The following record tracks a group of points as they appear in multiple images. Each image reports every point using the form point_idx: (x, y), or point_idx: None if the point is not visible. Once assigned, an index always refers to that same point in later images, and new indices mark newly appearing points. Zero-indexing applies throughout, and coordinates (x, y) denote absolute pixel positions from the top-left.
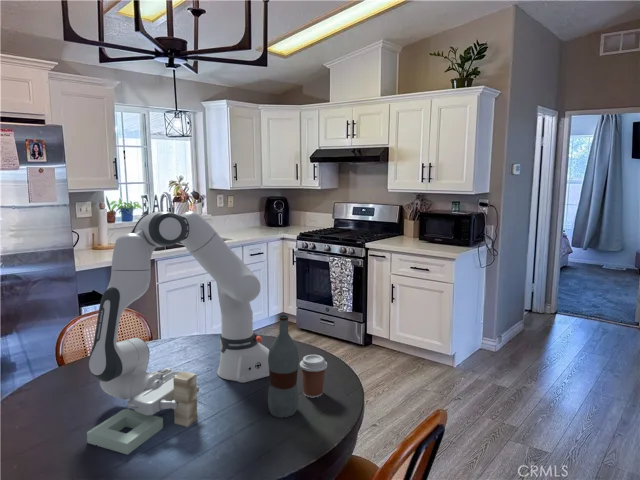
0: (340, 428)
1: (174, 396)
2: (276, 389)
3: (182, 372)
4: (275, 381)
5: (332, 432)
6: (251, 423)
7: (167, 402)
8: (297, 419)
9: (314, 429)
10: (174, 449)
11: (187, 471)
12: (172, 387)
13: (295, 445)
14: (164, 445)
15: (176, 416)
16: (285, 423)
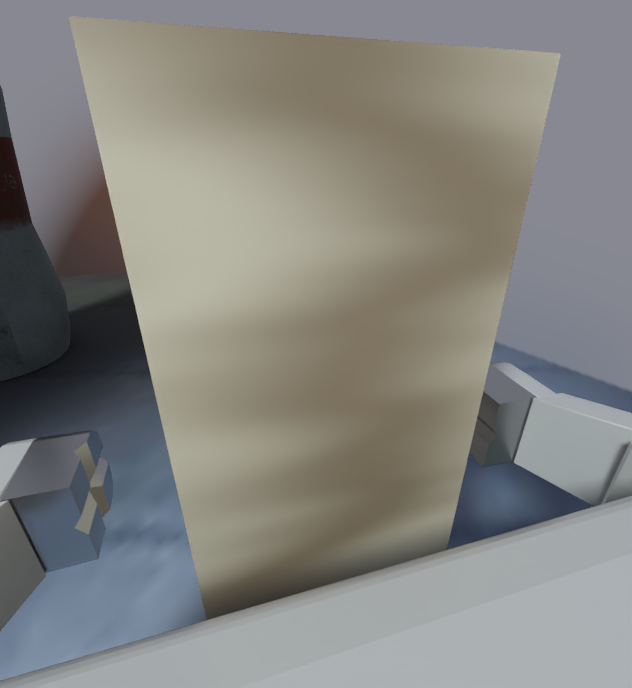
0: (100, 278)
1: (457, 461)
2: (27, 230)
3: (175, 31)
4: (13, 189)
5: (124, 280)
6: (146, 373)
7: (597, 404)
8: (73, 320)
9: (122, 293)
10: None
11: (499, 350)
12: (399, 658)
13: None
14: (566, 496)
15: None
16: (109, 326)
